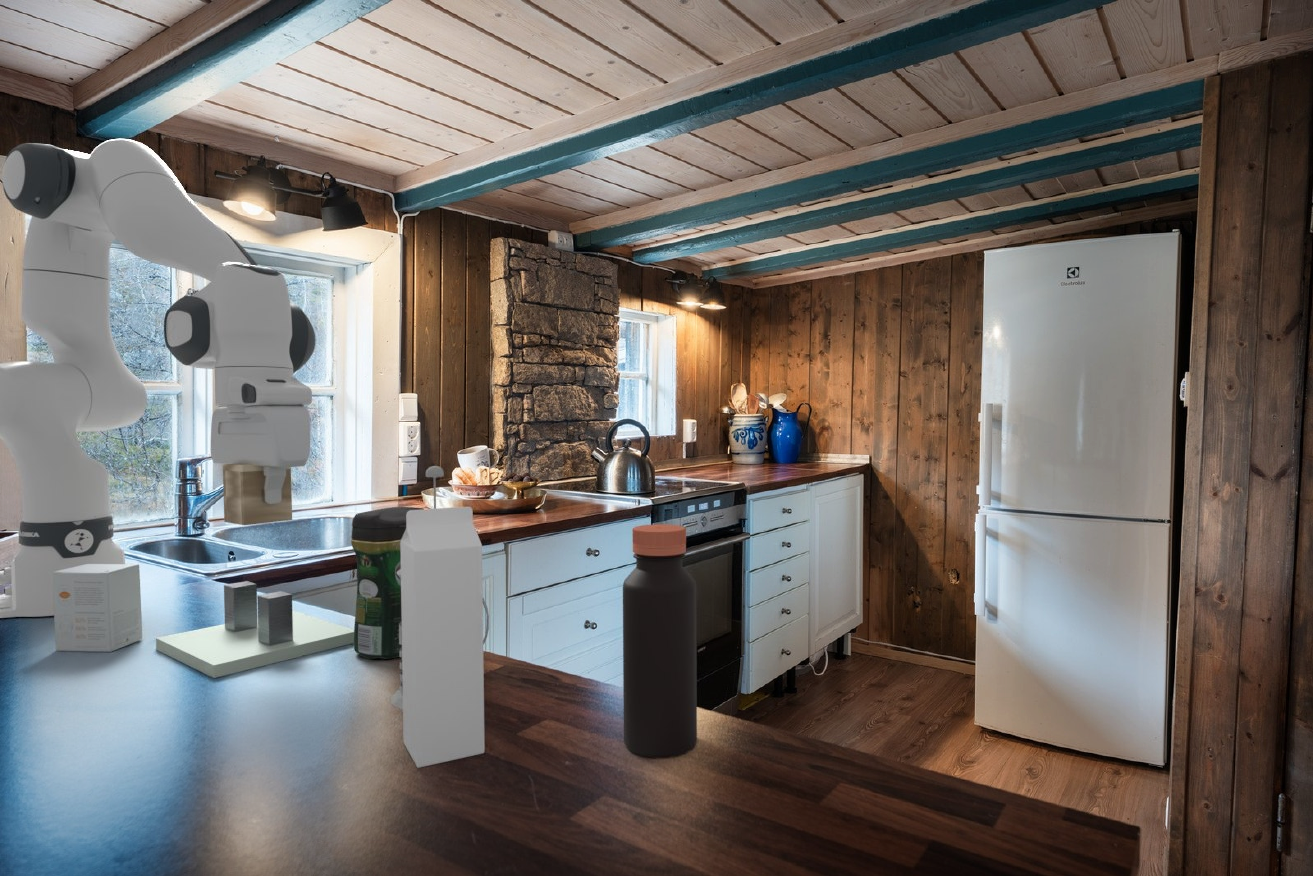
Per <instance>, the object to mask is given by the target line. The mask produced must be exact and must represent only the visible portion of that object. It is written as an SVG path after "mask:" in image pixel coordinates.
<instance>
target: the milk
mask: <svg viewBox="0 0 1313 876" xmlns="http://www.w3.org/2000/svg"><path fill="white" fill-rule="evenodd" d="M473 511H474V510H473V508H472V507H471V506H460V507H459V506H458V507H457V506H456V507H441V508H436V509H434V508H427V509H425V508H423V510H410V511H408V512H407V514H406V530H405V532H404V534H403V537H402V539H401V542H400V548H401V612H402V657H401V659H402V669H401V670H402V676H403V710H402V727H403V728H402V729H403V733H402V734H403V735H402V736H403V745H404V746H405V748H406V750H407V751H408V753H409V755H410V756H411V759H412V761H413V762H414V764H415V766H416V767H417V769H420V768H424V767H429V766H432V765H438V764H441V763H446V762H450V761H455V760H460V759H464V758H468V757H473V756H478V755H482V754H484V753H485V688H484V687H485V686H484V684H485V683H484V682H485V681H484V680H485V677H484V645H483V640H484V613H483V612H484V605H483V598H484V597H483V591H484V590H483V545H482V542H481V539H480V537H479V534H478V532H477V529H476V526H475V525H474V517H473V516H474V514H473Z"/></svg>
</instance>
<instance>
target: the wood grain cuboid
mask: <svg viewBox="0 0 1313 876" xmlns="http://www.w3.org/2000/svg"><path fill="white" fill-rule="evenodd" d="M265 479H266V476H264V467H262V466H254V465H251V464H234V463H233V464H222V483H223V485H222V486H223V487H222V490H223V517H224V518H223V521H224V523H230V524H234V525H239V526H250V525H259V524H267V523H269V524H270V523H276V522H285V521H287V522H288V521H293V503H292V502H293V501H292V499H293V498H292V467H286V477H285V480H284V483H283V486H282V488H281V502H280V503H275V504H267V503H263V502H262V495H261V489H264V486H265Z"/></svg>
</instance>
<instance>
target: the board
mask: <svg viewBox="0 0 1313 876" xmlns="http://www.w3.org/2000/svg"><path fill="white" fill-rule="evenodd" d="M292 616H293V641H289V642H285V643H280V644H276V645H272V646H268V645H265V644H263V643H260V642H258V628H253V629H248V630H244V631H239V632H232V631H230V630H227V629H225V623H223V624H219V625H215V626H208V627H203V628H199V629H195V630H188V631H184V632H178V633H174V634H170V635H165V636H160V637H155V650H156V651H159V652H160V653H163V654H164V655H166V656H169V657H170V658H173V659H175V660H177V661H179V662H181V663H183V664H184V665H187V666H189V667H191V668H192V669H195V670H197V671H198V672H200V673H203V674H205V675H207V676H209V677H210V678H213V679H216V678H220V677H224V676H228V675H229V676H230V675H232V674H237V673H240V672H245V671H247V670H251V669H256V668H259V667H263V666H269V665H271V664H276V663H280V662H284V661H288V660H291V659H292V660H293V659H295V658H296V659H297V658H299V657H300V658H301V657H303V655H304V656H307V655H311V654H317V653H319V652H323V651H327V650H331V649H334V648H339V647H342V646H347V645H350V644H354V629H353V628H349V627H346V626H344V625H341V624H340V625H339V624H337V623H333V622H330V621H327V620H324V619H321V618H318V617H315V616H312V615H308V614H306V613H303V612H300V611H297V610H293V609H292ZM257 625H258V616H257Z"/></svg>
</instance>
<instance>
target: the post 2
mask: <svg viewBox="0 0 1313 876" xmlns="http://www.w3.org/2000/svg"><path fill="white" fill-rule="evenodd" d="M292 610H293V594H292V593H288V592H286V591H281V590H280V591H279V590H278V591H274V592H269V593H263V594H259V595H258V594H257V617H258V642H260V643H263V644H265V645H268V646H272V645H276V644H280V643H285V642H289V641H293V616H292Z"/></svg>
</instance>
